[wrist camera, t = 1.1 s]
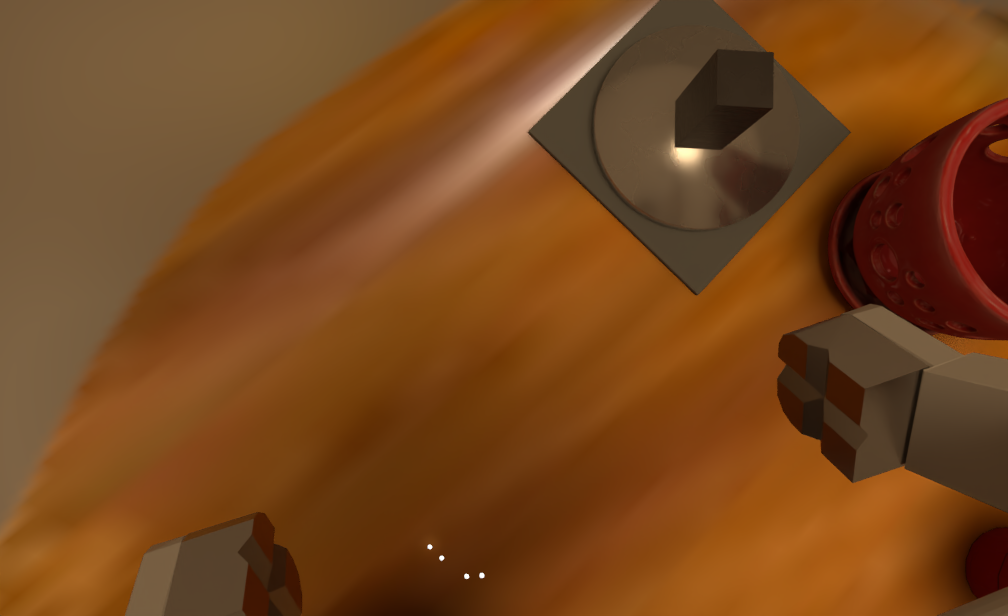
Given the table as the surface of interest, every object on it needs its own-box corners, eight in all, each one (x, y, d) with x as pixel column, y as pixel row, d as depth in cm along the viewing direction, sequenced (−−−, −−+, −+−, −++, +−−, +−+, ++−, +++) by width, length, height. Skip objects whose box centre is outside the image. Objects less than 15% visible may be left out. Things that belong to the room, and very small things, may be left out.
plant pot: (951, 374, 43) (1135, 382, 31) (781, 295, 43) (900, 274, 31) (1015, 206, 44) (1216, 152, 32) (849, 128, 44) (990, 45, 32)
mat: (847, 134, 44) (850, 132, 43) (696, 295, 42) (698, 294, 42) (684, -23, 44) (686, -26, 44) (528, 133, 43) (529, 131, 42)
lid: (790, 236, 43) (867, 208, 34) (588, 227, 42) (617, 196, 34) (791, 40, 44) (866, -34, 35) (594, 27, 43) (624, -51, 35)
